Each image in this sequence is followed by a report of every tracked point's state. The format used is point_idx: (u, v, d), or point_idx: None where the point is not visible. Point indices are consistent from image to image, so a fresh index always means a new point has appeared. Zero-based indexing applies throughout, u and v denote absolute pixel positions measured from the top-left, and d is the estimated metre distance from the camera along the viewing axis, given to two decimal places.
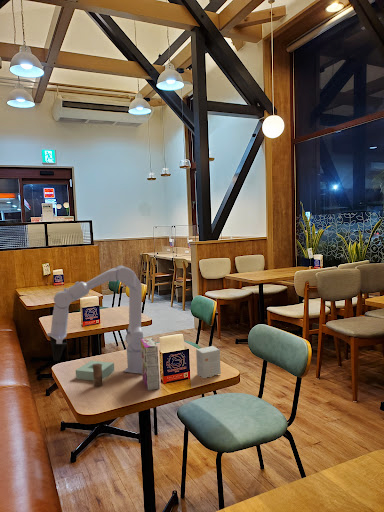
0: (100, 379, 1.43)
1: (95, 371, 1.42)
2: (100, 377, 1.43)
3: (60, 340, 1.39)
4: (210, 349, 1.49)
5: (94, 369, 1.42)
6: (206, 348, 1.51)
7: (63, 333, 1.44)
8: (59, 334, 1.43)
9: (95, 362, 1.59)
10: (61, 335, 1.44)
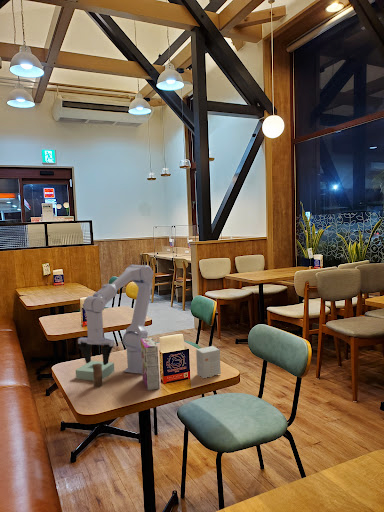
0: (100, 379, 1.43)
1: (95, 371, 1.42)
2: (100, 377, 1.43)
3: (113, 342, 1.41)
4: (210, 349, 1.49)
5: (94, 369, 1.42)
6: (206, 348, 1.51)
7: None
8: (102, 338, 1.42)
9: (95, 362, 1.59)
10: (103, 338, 1.43)
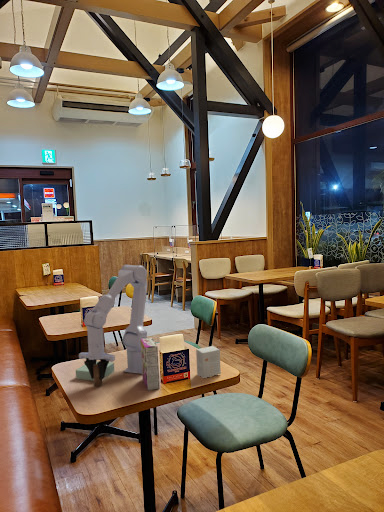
0: None
1: (95, 371, 1.42)
2: None
3: (114, 357, 1.41)
4: (210, 349, 1.49)
5: (94, 369, 1.42)
6: (206, 348, 1.51)
7: None
8: (103, 353, 1.42)
9: None
10: (104, 354, 1.43)
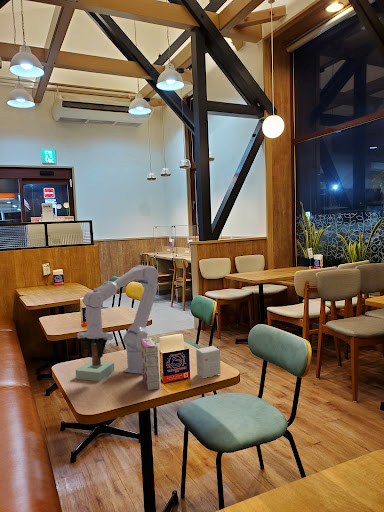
0: (98, 358, 1.46)
1: (93, 350, 1.45)
2: None
3: (111, 336, 1.44)
4: (210, 349, 1.49)
5: (92, 348, 1.45)
6: (206, 348, 1.51)
7: None
8: (101, 332, 1.45)
9: None
10: (102, 333, 1.46)
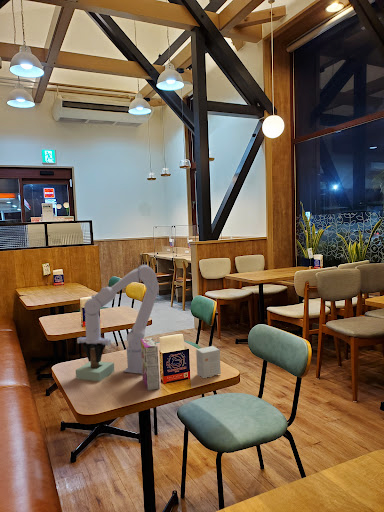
0: (97, 362, 1.53)
1: (92, 354, 1.52)
2: None
3: (109, 341, 1.52)
4: (210, 349, 1.49)
5: (91, 353, 1.52)
6: (206, 348, 1.51)
7: (100, 336, 1.54)
8: (99, 338, 1.53)
9: None
10: (100, 338, 1.53)
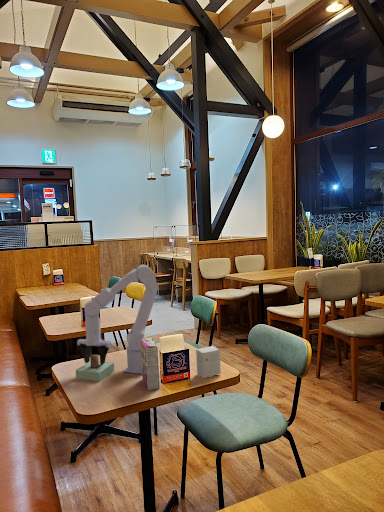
0: None
1: (92, 361, 1.53)
2: (97, 367, 1.53)
3: (109, 343, 1.52)
4: (210, 349, 1.49)
5: (91, 359, 1.53)
6: (206, 348, 1.51)
7: (100, 338, 1.54)
8: (99, 340, 1.53)
9: None
10: (100, 340, 1.54)
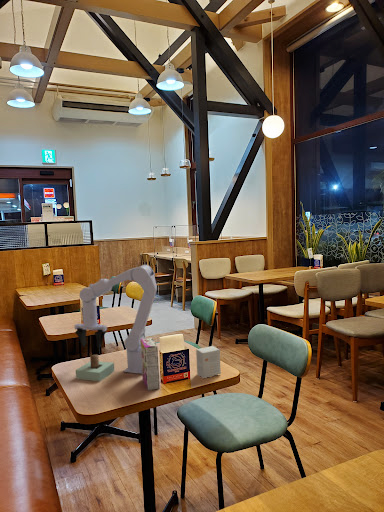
0: None
1: (92, 361, 1.53)
2: (97, 367, 1.53)
3: (106, 327, 1.58)
4: (210, 349, 1.49)
5: (91, 359, 1.53)
6: (206, 348, 1.51)
7: None
8: (96, 324, 1.59)
9: None
10: (97, 324, 1.60)
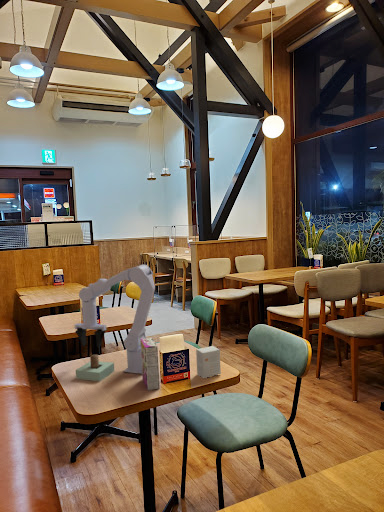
0: None
1: (92, 361, 1.53)
2: (97, 367, 1.53)
3: (105, 327, 1.60)
4: (210, 349, 1.49)
5: (91, 359, 1.53)
6: (206, 348, 1.51)
7: None
8: (96, 324, 1.61)
9: None
10: (97, 324, 1.62)
